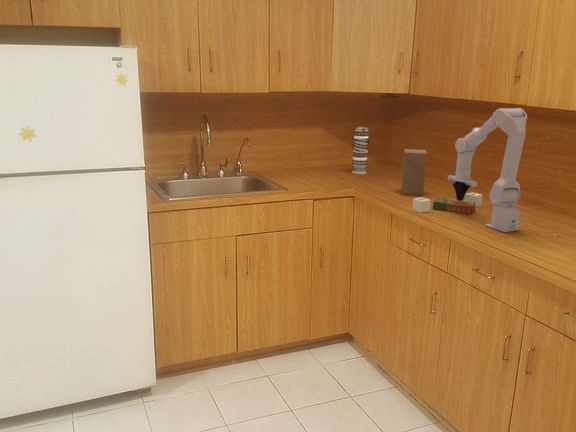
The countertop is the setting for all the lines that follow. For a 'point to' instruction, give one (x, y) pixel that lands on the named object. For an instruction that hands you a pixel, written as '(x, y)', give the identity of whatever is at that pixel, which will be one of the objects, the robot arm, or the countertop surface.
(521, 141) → the robot arm
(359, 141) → the decorative candle
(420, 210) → the number block 1
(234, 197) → the countertop surface
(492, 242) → the countertop surface
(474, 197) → the number block 7
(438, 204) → the carton
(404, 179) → the wooden block
